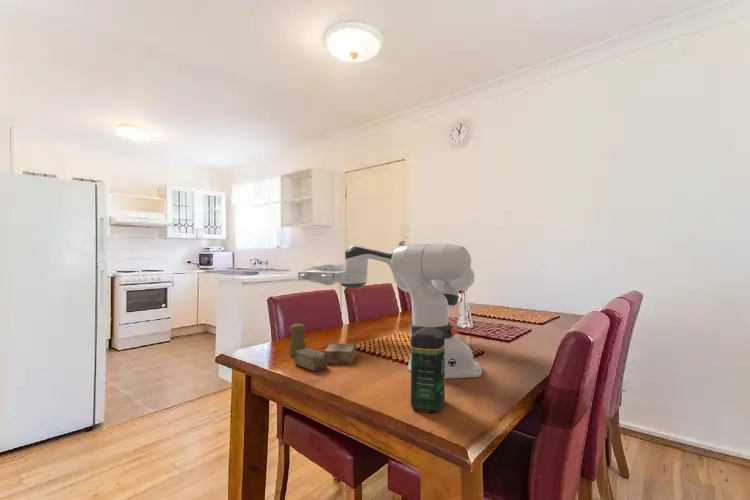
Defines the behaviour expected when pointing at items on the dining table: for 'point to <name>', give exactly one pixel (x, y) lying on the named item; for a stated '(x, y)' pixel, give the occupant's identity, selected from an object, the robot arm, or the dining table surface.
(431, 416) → the dining table surface
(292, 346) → the olive peg figure
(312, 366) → the stone block
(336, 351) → the walnut block
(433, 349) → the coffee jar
